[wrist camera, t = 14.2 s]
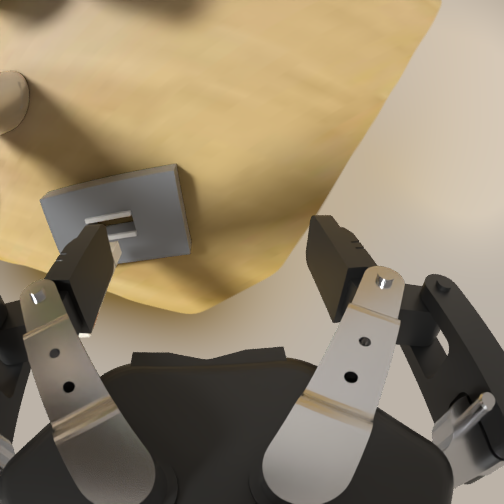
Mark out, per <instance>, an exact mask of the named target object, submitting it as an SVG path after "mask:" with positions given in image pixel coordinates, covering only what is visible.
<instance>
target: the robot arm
mask: <svg viewBox="0 0 504 504" xmlns="http://www.w3.org/2000/svg"><path fill="white" fill-rule="evenodd" d="M28 104H29V88H28V84H27V82H26V80H25V78H24V77H23V76H22V75H21V74H20V73H18V72H16V71H4V72H0V135H2V134H4V133H6V132H8V131H11V130H13V129H14V128H16V127H17V126H18V125H19V124H20V123H21V121H22V120H23V118H24V116H25V114H26V112H27V108H28ZM60 254H61V255H59V256H58V258H57V259H56V261H55V262H54V264H53V265H52V267H51V269H50V270H49V272H48V273H47V275H46V277H45V278H44V279H42V280H38V281H35V282H33V283H31V284H30V285H28V286H27V287H26V288H25V289H24V290H23V292H22V294H21V295H20V300H18V301H14V302H10V303H6V304H5V303H4V302H3V300H2V298H1V296H0V504H451V500H452V494H453V489H454V488H456V487H458V486H460V485H462V484H471V483H473V482H475V481H477V480H479V479H480V478H482V477H484V476H485V475H489V474H491V473H492V472H494V471H496V470H497V469H499V468H500V467H502V466H503V465H504V351H503V350H502V348H501V347H500V345H499V343H498V342H497V340H496V339H495V337H494V336H493V334H492V333H491V331H490V330H489V329H488V327H487V326H486V324H485V323H484V321H483V320H482V318H481V317H480V316H479V314H478V313H477V312H476V310H475V309H474V307H473V306H472V305H471V303H470V302H469V301H468V299H467V298H466V297H465V295H464V294H463V293H462V291H461V290H460V289H459V288H458V286H457V285H456V284H455V283H454V282H452V280H450V279H449V278H447V277H445V276H442V275H438V274H431V275H428V276H427V277H426V279H425V282H424V284H423V286H416V285H410V284H405V282H404V279H403V278H402V276H401V275H400V274H398V273H397V272H396V271H394V270H392V269H390V268H386V267H382V266H377V265H376V263H375V262H374V260H373V259H372V258H371V256H370V255H369V254H368V252H367V251H366V250H365V249H364V247H363V246H362V244H361V243H359V240H358V239H357V238H356V237H355V235H354V234H353V233H352V232H350V231H349V230H347V229H345V228H343V227H340V226H339V225H338V223H337V222H336V221H335V219H334V218H333V217H332V216H331V215H325V216H324V215H316V216H312V217H311V220H310V226H309V233H308V240H307V247H306V261H307V265H308V267H309V270H310V272H311V274H312V276H313V279H314V281H315V283H316V285H317V287H318V290H319V292H320V294H321V296H322V299H323V301H324V303H325V305H326V308H327V310H328V312H329V315H330V317H331V319H332V322H333V323H337V322H340V324H339V326H338V328H337V330H336V332H335V334H334V336H333V338H332V340H331V342H330V344H329V346H328V348H327V350H326V352H325V354H324V356H323V358H322V360H321V362H320V364H319V366H318V367H317V366H315V365H313V364H311V363H308V362H305V361H302V360H298V359H293V358H286V356H285V351H284V348H283V347H273V348H261V349H250V350H243V351H239V352H236V353H232V354H228V355H224V356H221V357H217V358H213V359H207V360H206V359H199V358H194V357H188V356H183V355H178V354H173V353H147V352H142V353H141V352H133V354H132V360H131V364H126V365H123V366H120V367H117V368H115V369H113V370H111V371H109V372H107V373H105V374H104V375H102V376H101V377H100V376H99V374H98V373H97V371H96V369H95V367H94V365H93V363H92V362H91V360H90V358H89V356H88V354H87V353H86V351H85V348H84V346H83V344H82V343H81V341H80V339H79V337H78V336H79V333H87V334H91V333H92V330H93V327H94V324H95V321H96V318H97V315H98V312H99V309H100V306H101V304H102V301H103V298H104V296H105V293H106V290H107V288H108V285H109V282H110V280H111V277H112V275H113V271H114V260H113V256H112V251H111V247H110V243H109V239H108V234H107V230H106V227H105V225H104V224H97V225H86V226H85V227H84V228H83V230H82V231H81V232H80V234H79V235H78V237H77V238H75V239H73V240H72V241H71V242H69V243H68V244H67V245H66V246H65V247H64V249H63V250H62V252H61V253H60ZM440 329H441V331H442V332H443V334H444V336H445V337H446V339H447V341H448V344H449V354H448V356H447V355H446V353H445V351H444V349H443V348H442V346H441V344H440V343H439V341H438V339H437V337H436V336H437V335H438V333H439V331H440ZM395 344H398V345H400V346H401V348H402V350H403V352H404V354H405V357H406V358H407V361H408V363H409V365H410V367H411V369H412V372H413V374H414V376H415V378H416V381H417V382H418V385H419V387H420V390H421V392H422V394H423V396H424V399H425V401H426V404H427V406H428V409H429V411H430V413H431V416H432V419H433V421H434V423H435V424H434V427H433V430H432V439H433V441H432V442H431V441H429V440H427V439H426V438H424V437H423V436H421V435H420V434H418V433H416V432H415V431H413V430H412V429H410V428H409V427H407V426H405V425H404V424H402V423H401V422H399V421H398V420H396V419H395V418H393V417H392V416H390V415H389V414H387V413H386V412H384V411H383V410H381V409H380V408H378V407H377V406H378V403H379V400H380V397H381V393H382V390H383V387H384V384H385V380H386V377H387V374H388V370H389V367H390V363H391V360H392V356H393V352H394V348H395ZM30 369H32V372H33V376H34V379H35V382H36V385H37V388H38V391H39V394H40V396H41V399H42V402H43V405H44V407H45V410H46V412H47V415H48V417H49V420H50V423H49V424H48V425H47V426H46V427H44V428H43V429H42V430H41V431H40V432H39V433H38V434H37V435H36V436H35V437H34V438H33V439H32V440H30V441H29V442H28V443H27V444H26V445H25V446H24V447H23V448H22V449H21V450H20V451H19V452H18V453H17V454H15V453H14V449H13V446H12V442H13V437H14V432H15V427H16V422H17V418H18V413H19V409H20V405H21V401H22V398H23V394H24V390H25V386H26V383H27V380H28V376H29V373H30Z"/></svg>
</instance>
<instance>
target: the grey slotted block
mask: <svg viewBox="0 0 504 504" xmlns="http://www.w3.org/2000/svg"><path fill="white" fill-rule="evenodd" d="M40 203H41V206H42V208H43V211H44V214H45V217H46V220H47V222H48V225H49V228H50V230H51V233H52V235H53V238H54V240H55V243H56V245H57V248H58V250H59V252H60V253H61V252H62V250H63V249H64V247H65V246H66V245H67V244H68V243H69V242H71V241H72V240H73V239H75V238H77V237H78V235H79V234H80V232H81V231H82V230H83V228H84V227H85V226H86V225H97V224H98V223H97V222H99V221H105V220H110V219H116V218H121V217H127V216H131V214H132V217H133V221H132V222H126V223H120V224H114V225H108V226H105V227H106V230H107V234H108V239H109V242H114V241H118V243H119V246H120V249H121V252H122V254H121V256H120V258H119V261H118V263H117V264H119V263H127V262H134V261H142V260H149V259H157V258H164V257H172V256H179V255H187V254H191V243H192V242H191V238H190V233H189V228H188V223H187V218H186V213H185V208H184V202H183V197H182V192H181V186H180V181H179V175H178V170H177V164H171V165H165V166H159V167H154V168H148V169H143V170H138V171H133V172H128V173H123V174H118V175H114V176H109V177H105V178H100V179H96V180H92V181H87V182H83V183H79V184H75V185H71V186H68V187H64V188H60V189H56V190H53V191H49V192H48V193H47V194H46V195H44V196H43V197H42V198H41V199H40ZM60 255H61V254H60Z"/></svg>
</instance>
